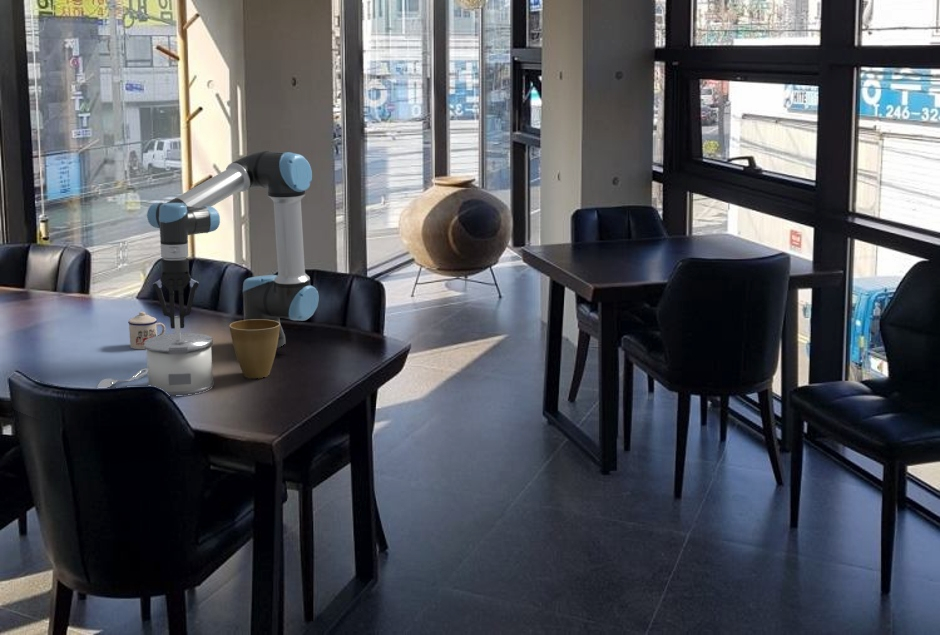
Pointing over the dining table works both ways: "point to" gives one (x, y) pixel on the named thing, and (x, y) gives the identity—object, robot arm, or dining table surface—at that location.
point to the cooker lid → (178, 343)
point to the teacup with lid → (142, 330)
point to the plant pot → (255, 345)
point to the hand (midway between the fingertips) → (178, 339)
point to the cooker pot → (180, 371)
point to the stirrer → (111, 381)
